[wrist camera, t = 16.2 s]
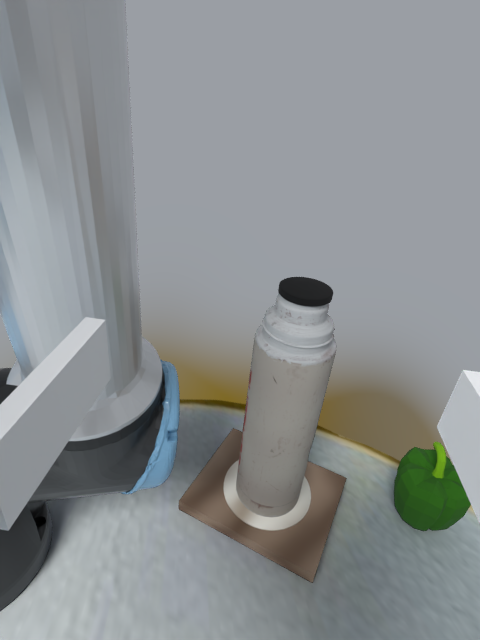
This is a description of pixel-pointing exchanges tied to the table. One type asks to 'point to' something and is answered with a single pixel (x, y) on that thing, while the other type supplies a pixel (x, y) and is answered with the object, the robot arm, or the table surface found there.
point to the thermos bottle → (285, 396)
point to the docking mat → (258, 531)
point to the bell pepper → (429, 490)
